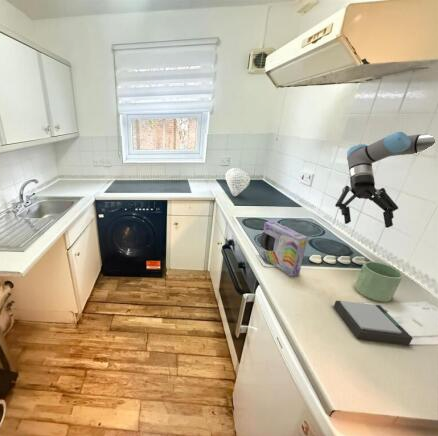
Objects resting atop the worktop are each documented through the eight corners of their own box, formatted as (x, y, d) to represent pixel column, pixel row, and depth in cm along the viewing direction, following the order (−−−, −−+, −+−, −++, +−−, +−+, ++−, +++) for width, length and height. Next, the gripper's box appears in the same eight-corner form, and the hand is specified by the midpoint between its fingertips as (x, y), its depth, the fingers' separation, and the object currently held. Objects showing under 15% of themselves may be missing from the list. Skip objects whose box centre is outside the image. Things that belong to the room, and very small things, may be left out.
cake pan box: (256, 254, 113) (263, 220, 106) (265, 252, 114) (272, 219, 108) (290, 277, 96) (300, 239, 89) (299, 275, 98) (310, 237, 91)
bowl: (386, 290, 89) (398, 266, 85) (394, 307, 81) (407, 282, 77) (352, 281, 94) (361, 258, 90) (356, 295, 86) (366, 271, 82)
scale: (376, 312, 79) (380, 303, 78) (408, 345, 67) (414, 336, 66) (333, 307, 81) (336, 298, 80) (357, 339, 69) (361, 329, 68)
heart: (221, 191, 212) (224, 166, 203) (239, 191, 210) (243, 166, 202) (228, 201, 186) (232, 173, 177) (249, 201, 185) (254, 173, 176)
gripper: (390, 184, 101) (399, 231, 93) (323, 181, 107) (327, 224, 100) (404, 175, 94) (415, 224, 87) (332, 171, 100) (336, 217, 93)
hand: (368, 224), depth 93 cm, fingers open, 13 cm apart
